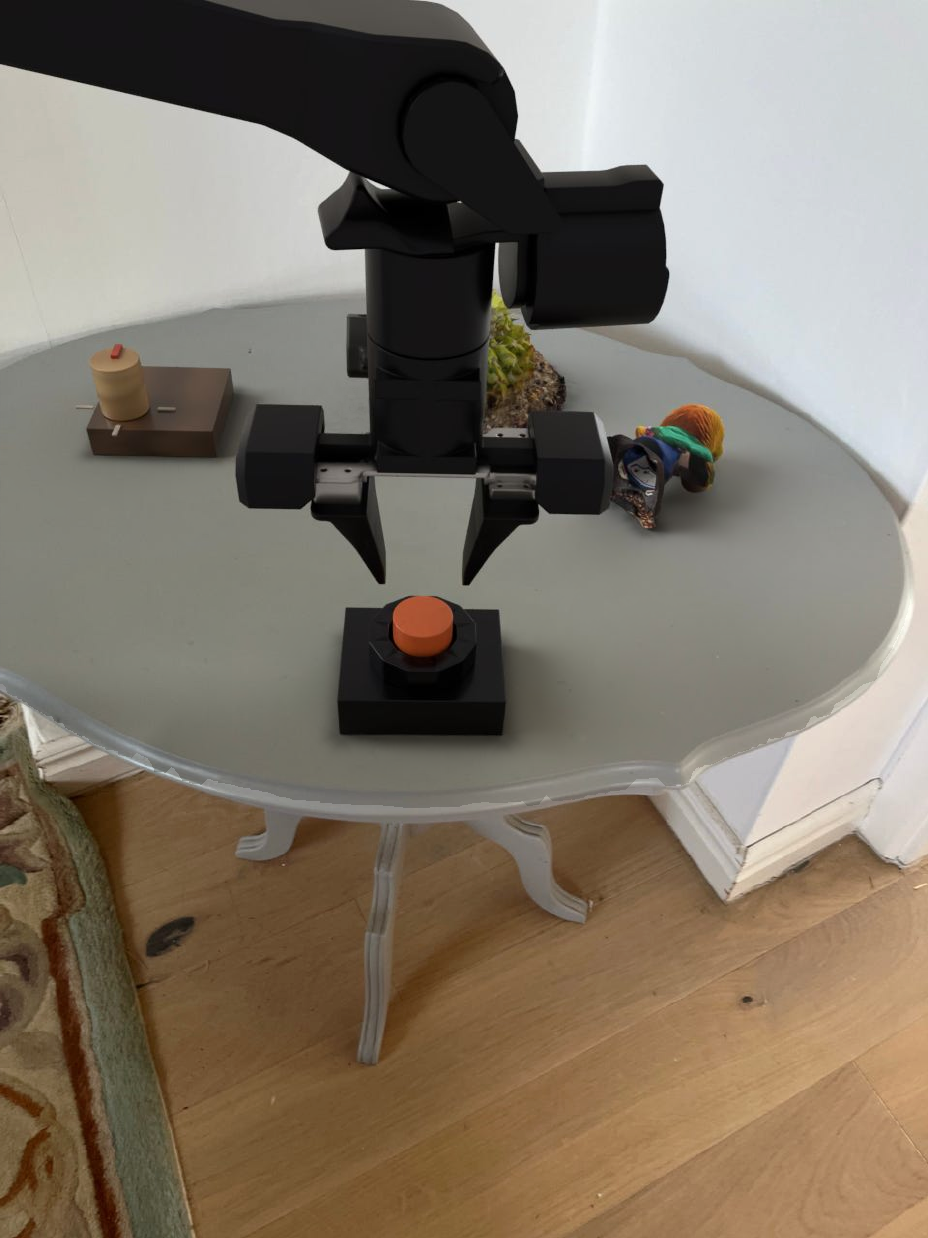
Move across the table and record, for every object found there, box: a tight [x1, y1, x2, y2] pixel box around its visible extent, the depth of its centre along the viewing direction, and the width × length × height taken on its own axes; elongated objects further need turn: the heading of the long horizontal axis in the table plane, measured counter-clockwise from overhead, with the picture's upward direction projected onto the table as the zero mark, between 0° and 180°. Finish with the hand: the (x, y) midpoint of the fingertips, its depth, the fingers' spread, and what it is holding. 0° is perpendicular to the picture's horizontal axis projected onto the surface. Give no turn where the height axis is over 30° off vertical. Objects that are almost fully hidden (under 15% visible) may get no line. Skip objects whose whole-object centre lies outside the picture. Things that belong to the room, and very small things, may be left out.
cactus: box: [483, 288, 568, 434], centre depth 84 cm, size 17×16×10 cm
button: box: [393, 595, 453, 657], centre depth 58 cm, size 4×4×2 cm
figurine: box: [607, 403, 726, 530], centre depth 76 cm, size 11×8×6 cm, turn 122°
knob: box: [88, 343, 150, 421], centre depth 77 cm, size 4×4×5 cm
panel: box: [75, 365, 235, 458], centre depth 81 cm, size 12×11×3 cm
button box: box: [336, 595, 507, 737], centre depth 60 cm, size 10×8×5 cm
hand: (423, 579), depth 55 cm, fingers open, 4 cm apart
